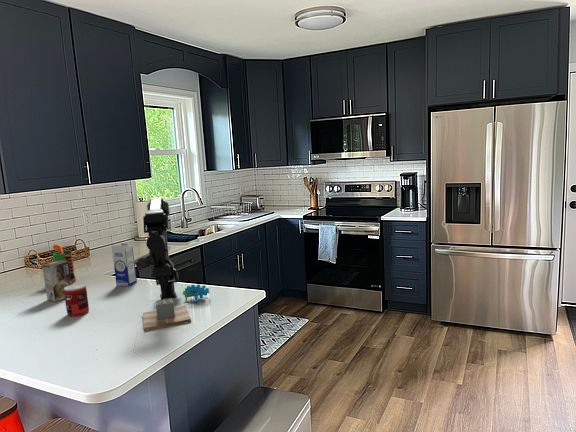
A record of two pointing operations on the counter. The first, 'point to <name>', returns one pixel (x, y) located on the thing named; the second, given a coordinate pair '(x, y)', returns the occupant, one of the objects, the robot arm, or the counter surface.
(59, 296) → the coffee box
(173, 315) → the grey box with handle
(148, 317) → the plate
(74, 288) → the canned food
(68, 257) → the multicoloured piece
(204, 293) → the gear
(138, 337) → the counter surface
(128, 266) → the milk carton
